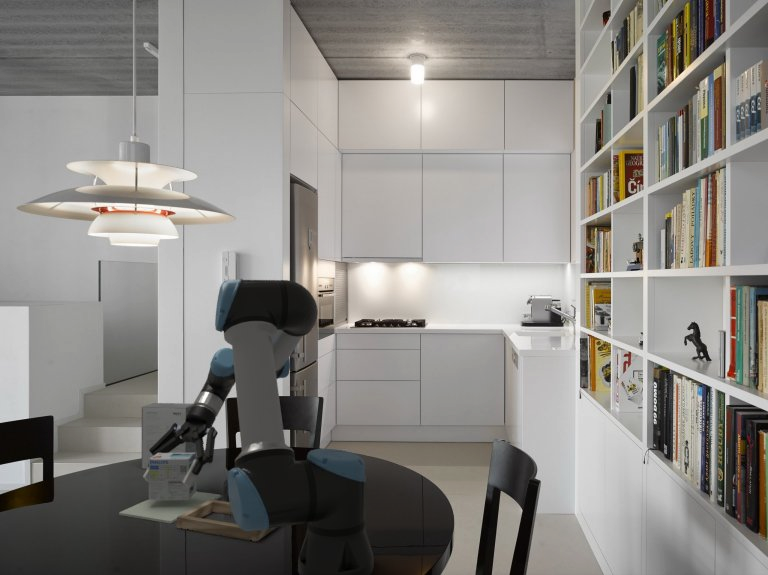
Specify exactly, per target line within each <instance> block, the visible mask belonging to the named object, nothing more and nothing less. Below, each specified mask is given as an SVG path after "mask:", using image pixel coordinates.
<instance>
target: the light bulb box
mask: <svg viewBox="0 0 768 575" xmlns="http://www.w3.org/2000/svg"><path fill="white" fill-rule="evenodd" d="M196 457H197V452H194V453H157V454H155V455H154V456H153V457H151V458H150V459H149V482H148V492H147V493H148V494H147V495H148V497H147V498H148V499H147V500H189V499H190V498H191V497H192V496H193V495H194V494H195V492H196V491H197V475H196V476H195V478H194V480H193V482H192V484H191V486H190V488H187V487H186V486H185V485H184V484H183V483H182V482H183V480H184V478H185V476H186V474H187V472H188V470H189V468H190V466H191V465H192V463H193V461H194V459H195V460H197V458H196Z"/></svg>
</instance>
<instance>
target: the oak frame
mask: <svg viewBox="0 0 768 575" xmlns="http://www.w3.org/2000/svg"><path fill="white" fill-rule="evenodd" d="M211 513H216V514H224V515H230V516H233V513H232V509H231V505H230V501H226V500H225V501H223V500H219V499H217V500H212V499H211V500H209V501H207V502H205V503H203V504H201V505H199V506H197V507H195V508H194V509H192V510H190V511H188V512H186V513H184V514H182V515H180V516H178V517H177V521H176V528H177V529H181V528H182V530H187V529H189V530H188V531H192V530H193V532H199V533H204V534H210V535H211V534H212V535H218V536H221V535H222V536H223V537H227V538H235V539H240V540H245V541H250V540H252V542H256V541H257V542H259V541H260V540H261V539H262V538H264V537H266V536H267V535H269V533H271V532H272V531H274V530H276V529H277V528H278V527H275V528H269V529H267V530H265V531H263V530H256V531H244V530H242V529H241V528H240V527H239V526H238V525H237V523H232V522H227V521H220V520H215V519H209V518H204V517H206V516H208V515H210V514H211Z"/></svg>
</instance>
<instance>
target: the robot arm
mask: <svg viewBox="0 0 768 575" xmlns="http://www.w3.org/2000/svg"><path fill="white" fill-rule="evenodd" d="M318 309H319V308H318V305H317V301H316V300H315V298H314V296H313V295H312V293H311V292H310V291H309V290H308V289H307V288H306V287H305V286H303V285H302V284H300V283H298V282H295V281H292V280H289V279H288V280H287V279H280V280H279V279H277V280H276V279H243V278H239V279H225V280H224V281H223V282H222V283H221V285H220V287H219V291H218V294H217V301H216V310H215V319H214V321H215V322H214V326H215V330H216V331H217V332H220V333H222V332H223V339H224V341H225V342H226V343H228V344H229V345H231V348H230V347H224V348H220V349H218V350H217V351H216V352H215V353H214V354H213V356H212V359H211V361H210V363H209V365H210V366H209V371H208V373H207V377H206V381H205V383H204V384H203V386H202V388H201V390H200V392H199V393H198V395H197V396H196V398H195V400H194V402H193V403H192V404H193V407H191V409H190V411H189V412H188V414H187V416H186V421H185V423H184V424H183V425H182V426H180V425H177V424H176V423H174V424H173V425H172V427H171V428H170V430H169V431H168V432H167V433H166V434H165V435H164V436H163V437H162V438H161V439H160V440H159V441H158V442H157V443H156V444H155V445H154V446H153V447H151V448H150V450H149V451H150V452H151V454H152V455H153V456H154V455H155V454H157V453H160V452H161V453H169V452H170V451H172V450H173V449H174V448H176V447H177V446H178V445H180V444H183V443H184V442H192V443H195V445H196V460H195V459H194V461H193V463H192V465H191V466H190V468H189V470H188V472H187V474H186V476H185V478H184V480H183V482H182V483H183V484H184V485H185V486H186V487H187V488H190V486H191V484H192V482H193V480H194V478H195V476H196V477H197V476H198V475H199V474H200V472H201V471H202V468H203V467H204V465H205V464H207V463H208V464H212V463H213V461H214V453H215V445H216V444H215V443H216V438H217V435H218V431H217V429H216V428H215V427H214V426H213V425H214V423H215V421H216V417H218V415H219V413H220V411H221V409H222V408H223V405H224V403H225V401H226V399H227V397H228V396H229V394H230V392H231V391H232V388H233V387H234V385H235V391H236V392H235V393H236V401H237V403H236V405H237V412H238V413H237V414H238V415H237V416H238V423H239V424H238V425H239V435H240V446H241V451H240V453H239V454H238V455H237V456H236V458H235V459H234V467H233V468H231V469H230V470H229V471H228V473H227V480H226V481H227V487H228V489H227V494H228V498H229V502H230V505H231V509H232V513H233V515H232V516H233V518H234V520H235V524H237V525H238V526H239V527H240V528H241V529H242V530H244V531H256V530H263V531H265V530H267V529H269V528H275V527H277V528H281V527H287V526H293V525H294V526H295V525H300V524H305V523H307V526H306V527H307V529H306V533H305V537H304V540H303V543H302V547H301V549H300V551H299V555H298V560H297V562H298V565H297V567H298V568H297V572H298V574H299V575H372V573H373V571H374V564H375V562H374V559H375V558H374V553H373V551H372V547H371V544H370V540H369V537H368V534H367V531H366V482H367V478H366V465H365V460H363V458H362V457H361V456H360V455H358V454H356V453H353V452H351V451H346V450H342V449H336V448H315V449H311V450H310V451H309V452H308V453H307V455H306V460H305V459H304V460H296V459H295V458H296V456H295V450H293V448H292V447H290V446H288V445H287V444H286V440H285V439H286V438H285V433H284V424H283V417H282V411H281V410H282V409H281V404H280V402H281V401H280V394H279V387H278V386H279V385H278V379H283V378H287V377H288V376H289V374H290V370H291V361H290V357H291V355H292V353H293V352H294V351H295V349H296V347H297V346H298V344H299V343H300V341H301V339H302V338H303V337H304V336H306V335H308V334H309V333H310V332H311V331H312V329H313V328H314V327H315V325H316V322H317V320H318V315H319V314H318V313H319V312H318ZM180 436H181V437H182V439H181V438H180ZM205 436H206V440H205V446H204V437H205ZM204 447H205V448H204ZM142 478H143V479H144V480H145V481H146V482H147V483H149V464H148V469H145V472H144V474H143V476H142ZM275 529H276V528H275Z"/></svg>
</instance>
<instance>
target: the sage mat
mask: <svg viewBox="0 0 768 575" xmlns="http://www.w3.org/2000/svg"><path fill="white" fill-rule="evenodd" d="M221 498H222V494H216V493H211V492H204V491H203V492H202V491H197V490H196V492H195V494H194V495H193V496H192V497H191V498H190V499H189V500H148V499H146V500H144V501H142V502H139V503H137V504H135V505H133V506H130V507H128V508H126V509H124V510H121V511H119V512H118V515H119V516H123V517H124V516H125V517H129V518H133V519H134V518H135V519H142V520H145V521H154V522H159V523H165V524H173V523H175V522H177V517H178V516H180V515H182V514H184V513H186V512H188V511H190V510H192V509H194V508H195V507H197V506H199V505H201V504H203V503H205V502H207V501H209V500H211V499H212V500H219V499H221Z"/></svg>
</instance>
